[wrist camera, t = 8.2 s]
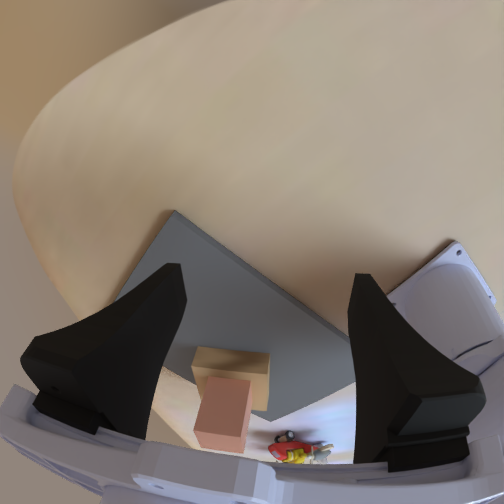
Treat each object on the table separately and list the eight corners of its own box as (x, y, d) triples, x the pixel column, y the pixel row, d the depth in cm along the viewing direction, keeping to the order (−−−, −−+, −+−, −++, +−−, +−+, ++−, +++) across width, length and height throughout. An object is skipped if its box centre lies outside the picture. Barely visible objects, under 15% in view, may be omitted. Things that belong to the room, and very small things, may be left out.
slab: (270, 353, 29) (267, 374, 27) (269, 392, 33) (266, 411, 31) (197, 346, 30) (191, 365, 28) (207, 385, 34) (202, 403, 31)
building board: (381, 360, 29) (382, 367, 28) (271, 416, 37) (270, 422, 36) (175, 210, 23) (170, 216, 22) (103, 319, 31) (99, 325, 31)
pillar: (250, 380, 28) (240, 437, 23) (252, 402, 30) (243, 453, 25) (208, 376, 28) (193, 430, 23) (213, 397, 30) (201, 447, 25)
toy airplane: (268, 428, 40) (263, 468, 34) (333, 425, 37) (333, 466, 32) (280, 450, 44) (275, 484, 39) (335, 448, 42) (335, 483, 37)
